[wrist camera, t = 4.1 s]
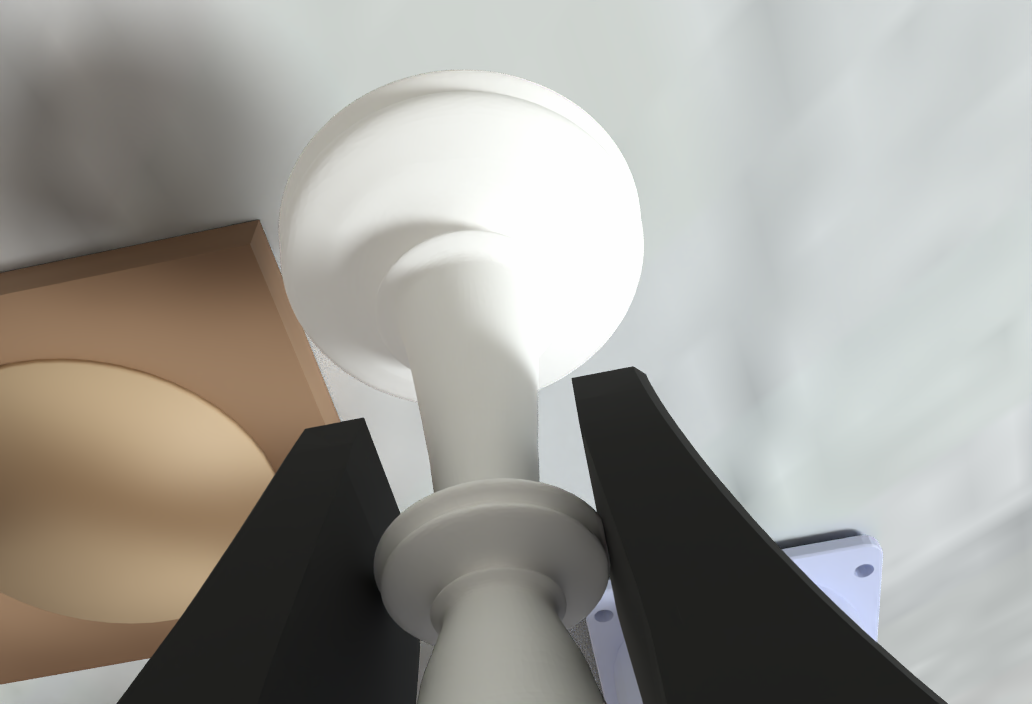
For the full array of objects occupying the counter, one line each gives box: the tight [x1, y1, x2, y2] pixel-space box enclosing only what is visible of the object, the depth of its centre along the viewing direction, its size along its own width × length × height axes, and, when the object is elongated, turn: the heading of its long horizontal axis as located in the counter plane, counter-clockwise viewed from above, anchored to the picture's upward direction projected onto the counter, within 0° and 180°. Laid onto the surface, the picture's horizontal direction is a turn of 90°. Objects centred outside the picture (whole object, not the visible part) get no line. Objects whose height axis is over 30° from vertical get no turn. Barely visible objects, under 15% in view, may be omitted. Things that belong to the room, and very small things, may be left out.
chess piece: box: [279, 70, 644, 704], centre depth 9 cm, size 5×5×10 cm
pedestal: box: [0, 220, 340, 684], centre depth 21 cm, size 11×11×1 cm
